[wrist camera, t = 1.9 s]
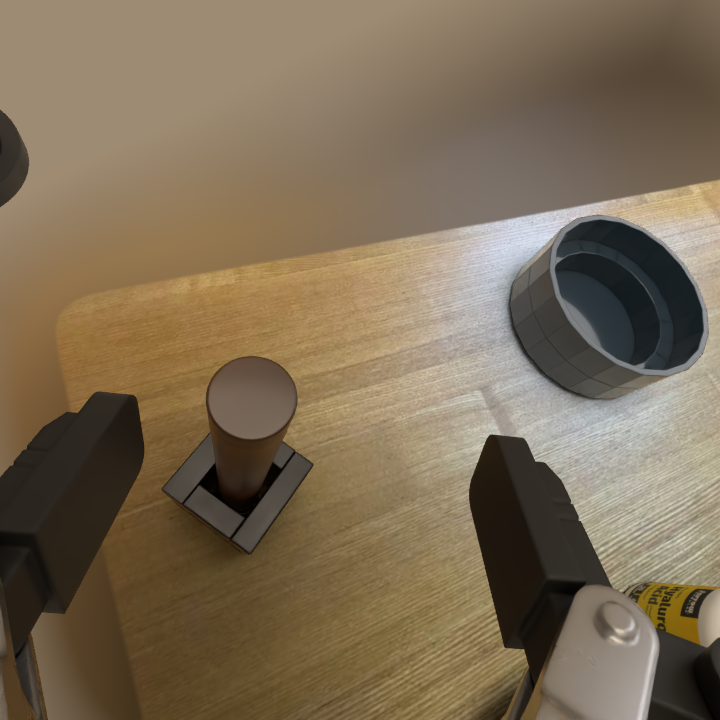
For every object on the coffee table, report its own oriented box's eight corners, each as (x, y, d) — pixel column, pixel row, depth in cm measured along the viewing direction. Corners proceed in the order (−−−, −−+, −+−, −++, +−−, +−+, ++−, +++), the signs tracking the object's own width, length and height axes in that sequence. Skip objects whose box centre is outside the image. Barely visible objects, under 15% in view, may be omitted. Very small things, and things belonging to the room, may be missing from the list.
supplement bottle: (623, 567, 34) (759, 572, 25) (686, 604, 34) (844, 621, 25) (607, 646, 32) (752, 681, 23) (675, 685, 32) (845, 735, 23)
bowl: (481, 332, 39) (522, 297, 33) (543, 230, 45) (585, 186, 39) (621, 433, 38) (685, 414, 33) (664, 316, 45) (723, 284, 39)
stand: (176, 503, 28) (160, 489, 22) (232, 435, 31) (233, 404, 24) (245, 555, 28) (250, 555, 22) (297, 482, 31) (314, 464, 24)
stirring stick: (212, 497, 29) (185, 404, 11) (236, 468, 30) (245, 338, 12) (241, 518, 29) (261, 460, 11) (264, 488, 30) (314, 389, 12)
